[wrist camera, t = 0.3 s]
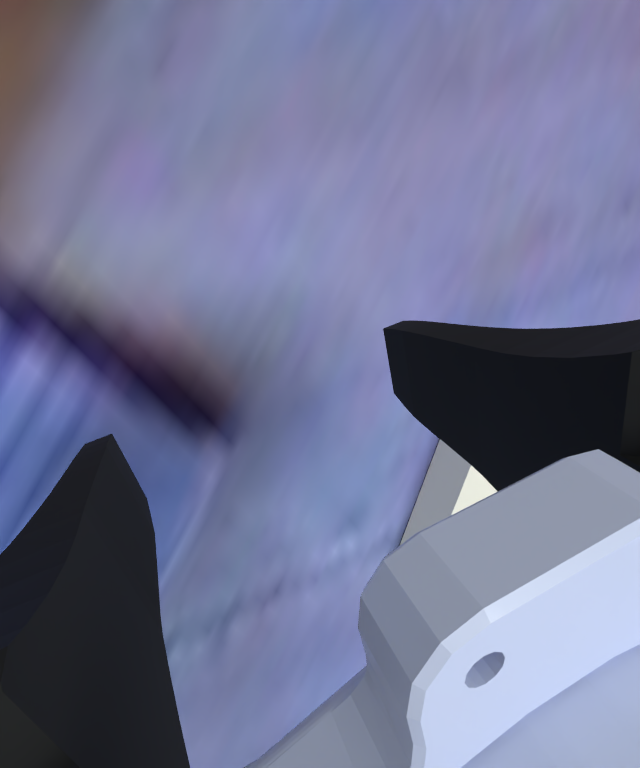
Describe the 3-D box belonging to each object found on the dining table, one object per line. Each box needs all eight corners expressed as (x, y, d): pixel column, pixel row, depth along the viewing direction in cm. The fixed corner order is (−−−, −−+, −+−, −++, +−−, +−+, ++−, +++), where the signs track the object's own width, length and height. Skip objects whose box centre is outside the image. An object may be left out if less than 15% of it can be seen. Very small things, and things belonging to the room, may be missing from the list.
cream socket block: (605, 585, 37) (642, 612, 34) (391, 566, 29) (418, 600, 26) (671, 442, 35) (716, 459, 32) (462, 379, 27) (498, 393, 24)
